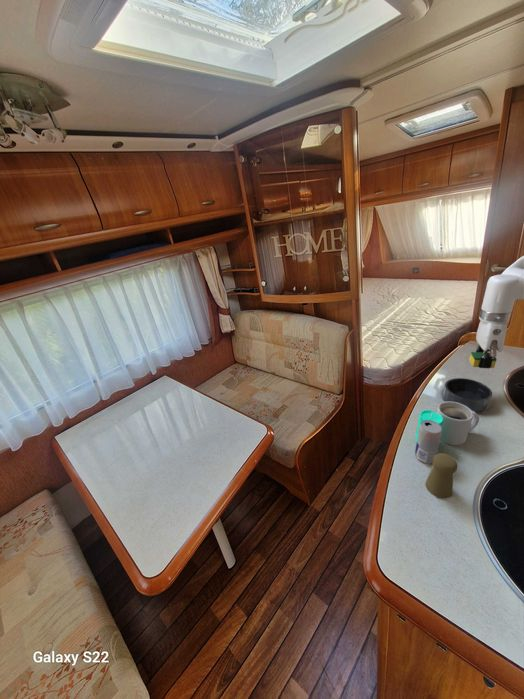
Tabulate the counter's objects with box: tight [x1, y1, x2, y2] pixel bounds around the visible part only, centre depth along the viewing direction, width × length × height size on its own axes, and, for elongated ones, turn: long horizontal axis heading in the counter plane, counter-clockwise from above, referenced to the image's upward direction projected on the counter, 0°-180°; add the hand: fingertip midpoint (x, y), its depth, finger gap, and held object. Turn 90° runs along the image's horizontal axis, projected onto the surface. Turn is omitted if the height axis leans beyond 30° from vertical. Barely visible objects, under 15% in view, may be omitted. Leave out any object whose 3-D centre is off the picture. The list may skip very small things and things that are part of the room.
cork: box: [425, 452, 459, 499], centre depth 69 cm, size 6×6×11 cm
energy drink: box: [414, 420, 442, 464], centre depth 78 cm, size 5×5×12 cm
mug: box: [436, 401, 480, 446], centre depth 84 cm, size 11×10×10 cm
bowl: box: [442, 377, 493, 414], centre depth 97 cm, size 14×14×6 cm
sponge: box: [469, 351, 498, 369], centre depth 94 cm, size 6×4×4 cm
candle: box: [415, 409, 443, 444], centre depth 82 cm, size 6×6×12 cm
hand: (481, 363), depth 94 cm, fingers closed on sponge, 4 cm apart
